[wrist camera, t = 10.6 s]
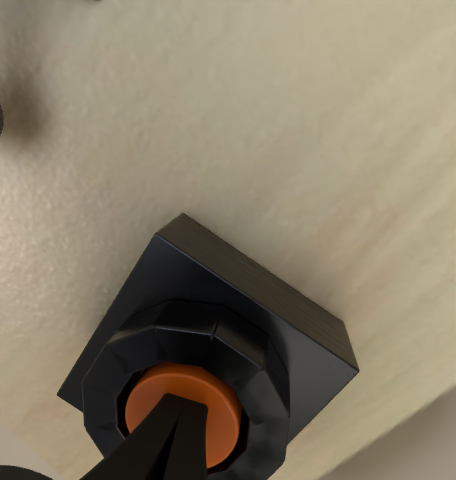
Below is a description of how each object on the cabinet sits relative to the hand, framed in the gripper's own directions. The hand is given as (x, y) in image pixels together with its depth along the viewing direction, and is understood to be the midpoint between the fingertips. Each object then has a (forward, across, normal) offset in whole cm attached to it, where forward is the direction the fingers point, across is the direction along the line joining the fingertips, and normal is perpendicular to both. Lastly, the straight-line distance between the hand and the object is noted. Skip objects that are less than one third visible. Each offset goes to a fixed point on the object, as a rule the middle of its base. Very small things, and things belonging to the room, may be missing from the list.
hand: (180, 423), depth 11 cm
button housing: (+5, 0, 0) cm, 5 cm away
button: (+2, 0, 0) cm, 2 cm away
